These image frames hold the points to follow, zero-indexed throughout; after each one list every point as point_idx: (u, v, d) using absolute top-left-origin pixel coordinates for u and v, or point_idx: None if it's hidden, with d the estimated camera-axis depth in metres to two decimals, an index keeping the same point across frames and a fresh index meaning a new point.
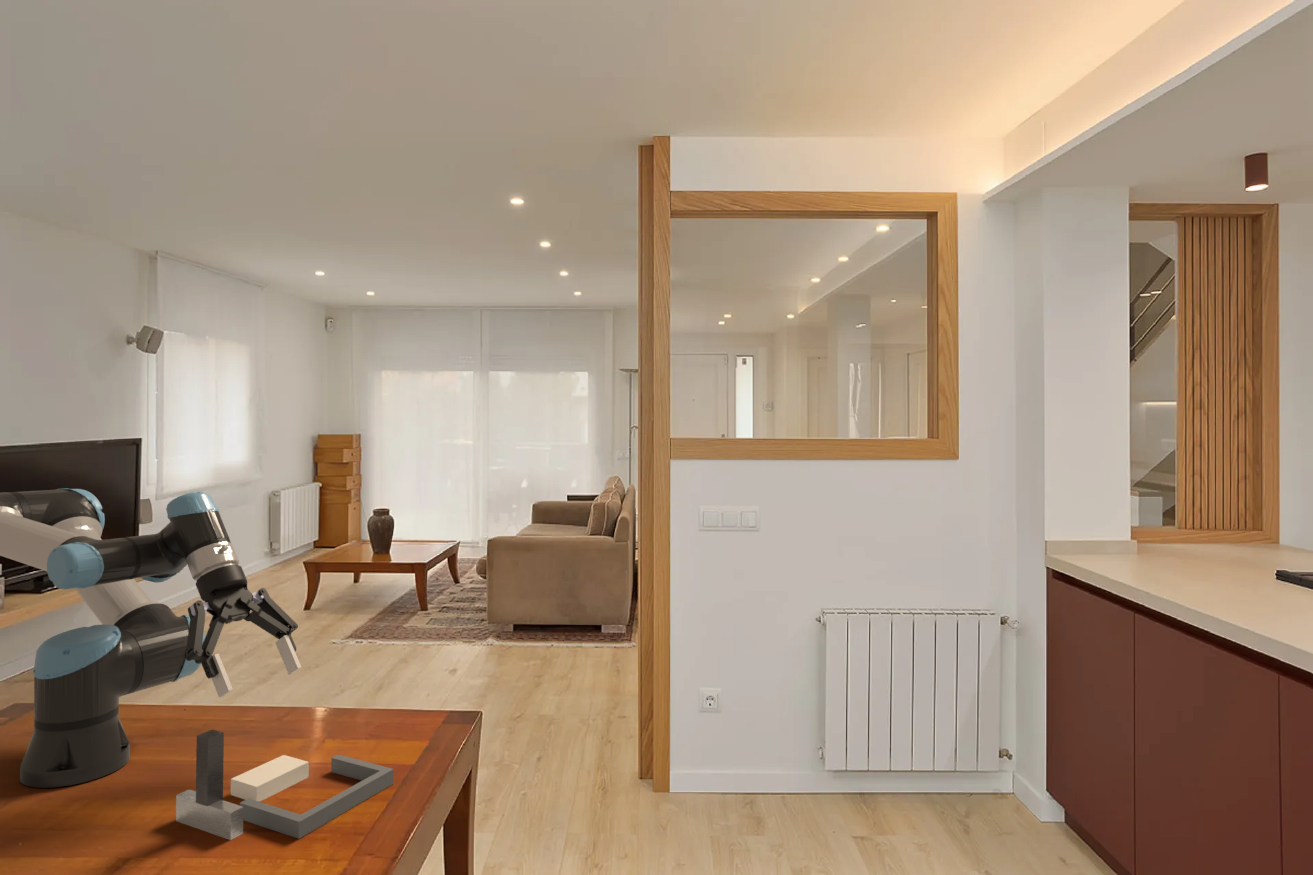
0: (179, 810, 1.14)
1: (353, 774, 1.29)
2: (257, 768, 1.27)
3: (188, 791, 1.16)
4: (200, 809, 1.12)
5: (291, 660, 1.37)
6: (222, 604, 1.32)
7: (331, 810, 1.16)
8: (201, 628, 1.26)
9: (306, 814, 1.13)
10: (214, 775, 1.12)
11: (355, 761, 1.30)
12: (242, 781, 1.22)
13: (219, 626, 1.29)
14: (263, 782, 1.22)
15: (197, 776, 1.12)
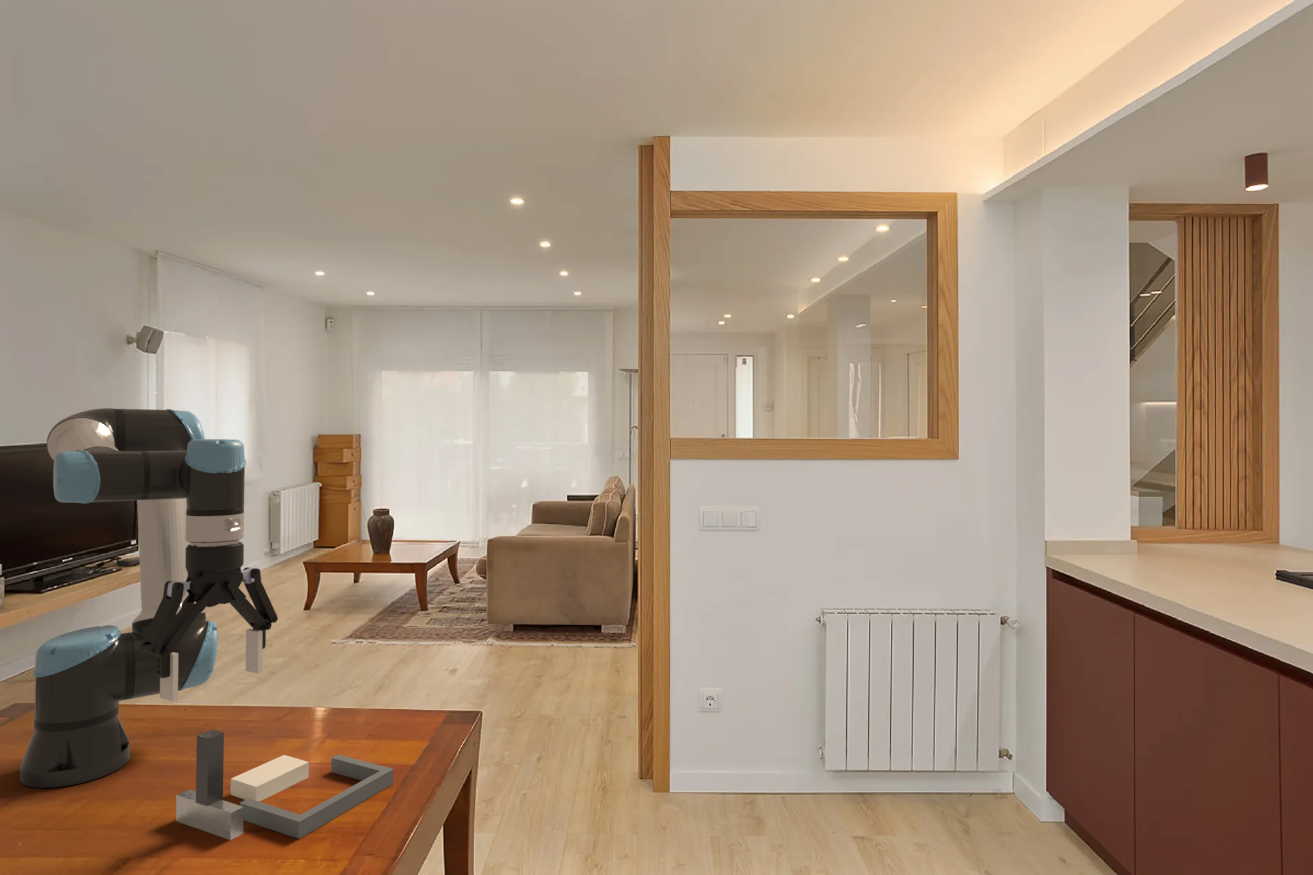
0: (179, 810, 1.14)
1: (353, 774, 1.29)
2: (257, 768, 1.27)
3: (188, 791, 1.16)
4: (200, 809, 1.12)
5: (254, 660, 1.19)
6: (205, 588, 1.11)
7: (331, 810, 1.16)
8: (170, 619, 1.06)
9: (306, 814, 1.13)
10: (214, 775, 1.12)
11: (355, 761, 1.30)
12: (242, 781, 1.22)
13: (192, 617, 1.09)
14: (262, 783, 1.22)
15: (197, 776, 1.12)
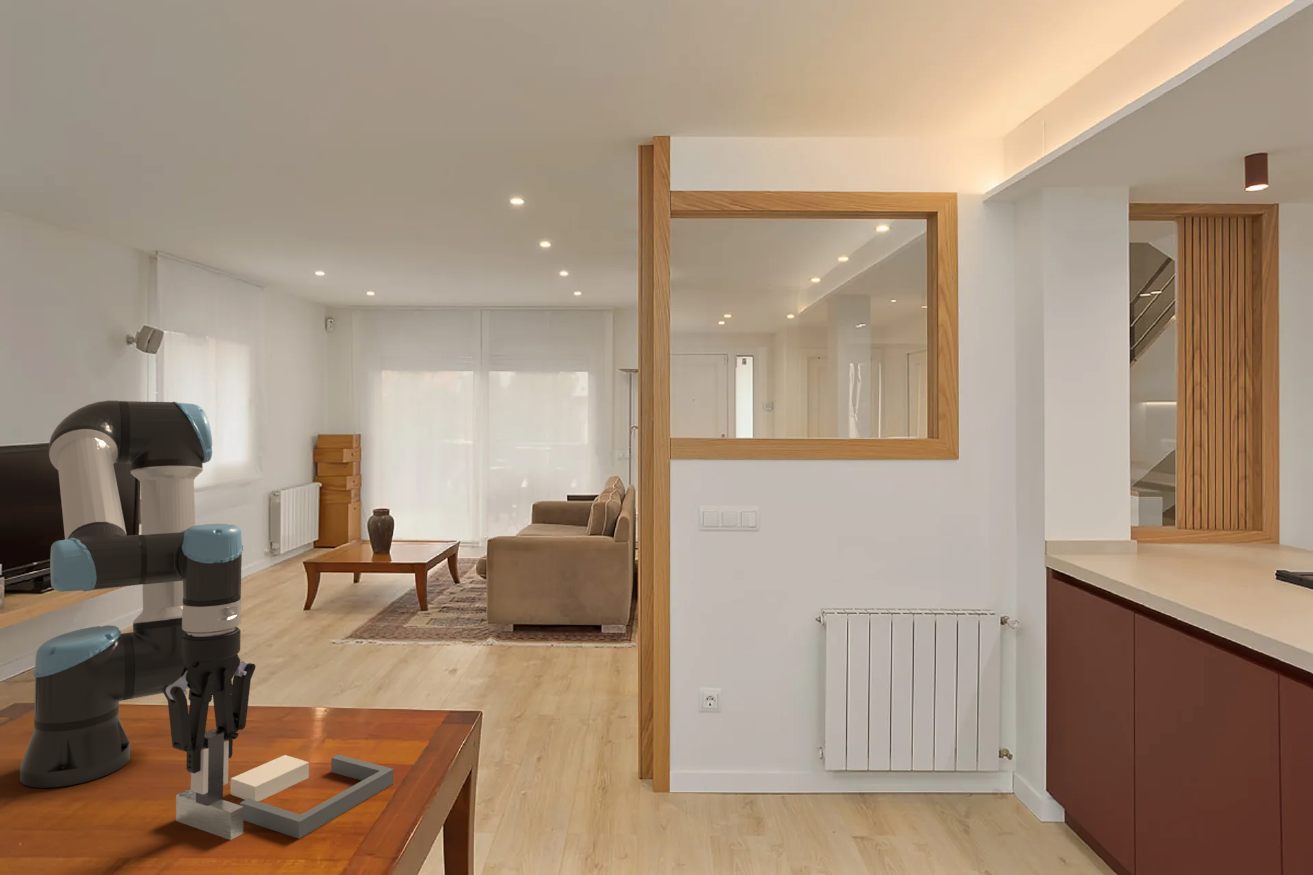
0: (179, 810, 1.14)
1: (353, 774, 1.29)
2: (257, 768, 1.27)
3: (188, 791, 1.16)
4: (200, 808, 1.12)
5: None
6: (202, 681, 1.10)
7: (331, 810, 1.16)
8: (186, 718, 1.08)
9: (306, 814, 1.13)
10: (214, 775, 1.12)
11: (355, 761, 1.30)
12: (242, 781, 1.22)
13: (204, 709, 1.11)
14: (261, 783, 1.22)
15: None
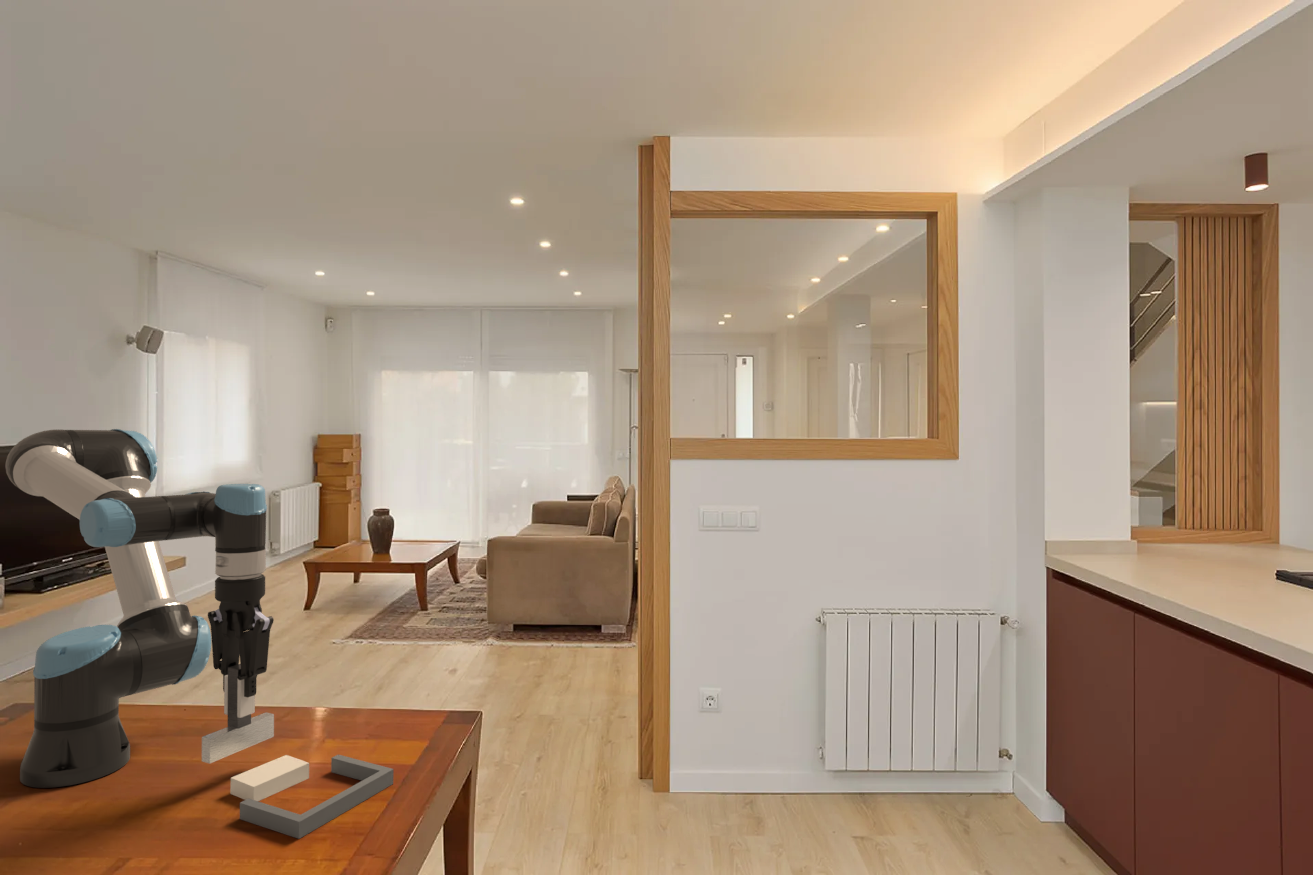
0: None
1: (353, 774, 1.29)
2: (258, 768, 1.27)
3: (269, 714, 1.34)
4: None
5: None
6: None
7: (331, 810, 1.16)
8: (215, 641, 1.30)
9: (306, 814, 1.13)
10: (232, 703, 1.28)
11: (355, 761, 1.30)
12: (241, 781, 1.22)
13: (226, 641, 1.29)
14: (260, 783, 1.22)
15: None
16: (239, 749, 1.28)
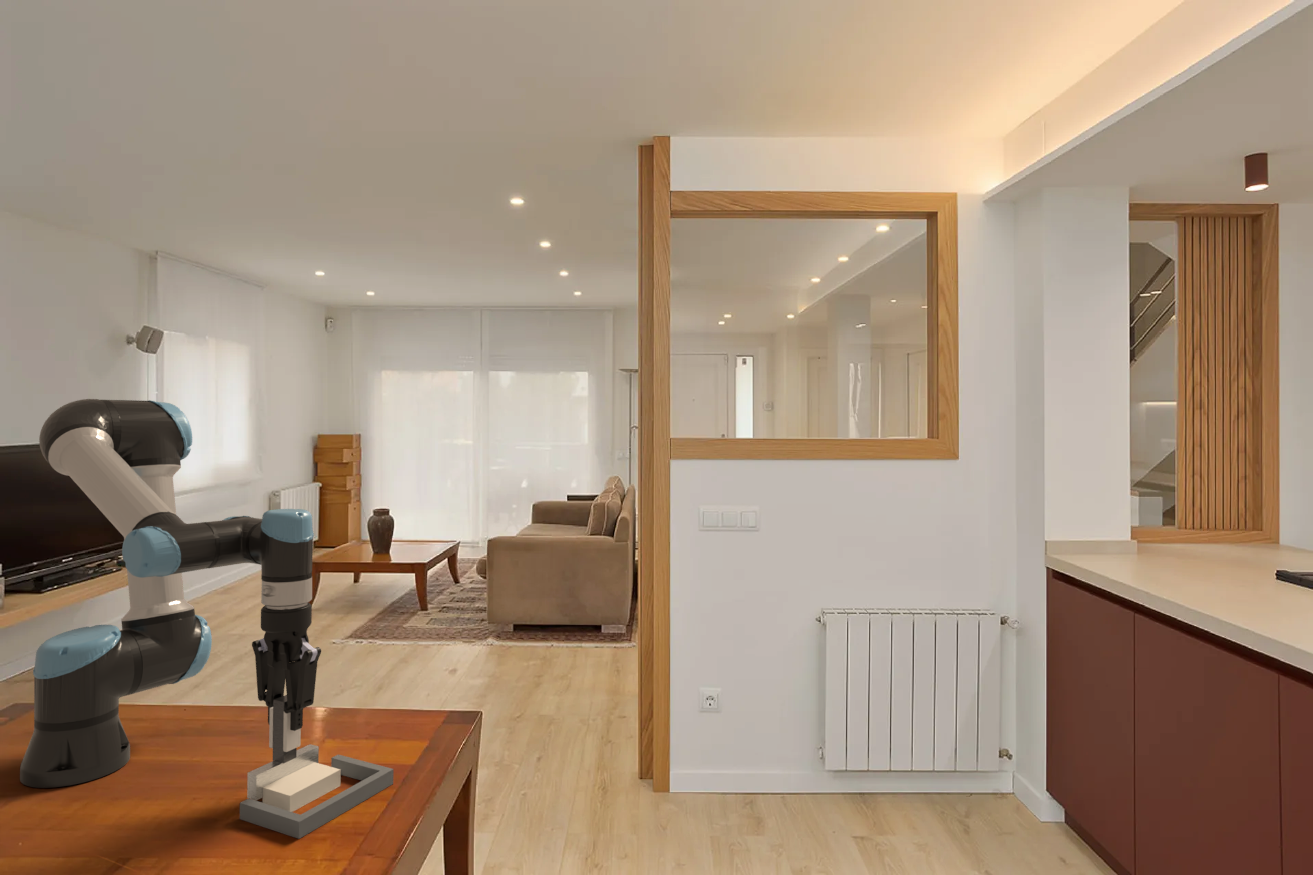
0: None
1: (353, 774, 1.29)
2: (288, 776, 1.24)
3: (313, 747, 1.30)
4: None
5: None
6: None
7: (331, 810, 1.16)
8: (259, 672, 1.25)
9: (306, 814, 1.13)
10: (277, 736, 1.24)
11: (355, 761, 1.30)
12: (275, 790, 1.19)
13: (271, 672, 1.24)
14: (296, 791, 1.19)
15: None
16: None
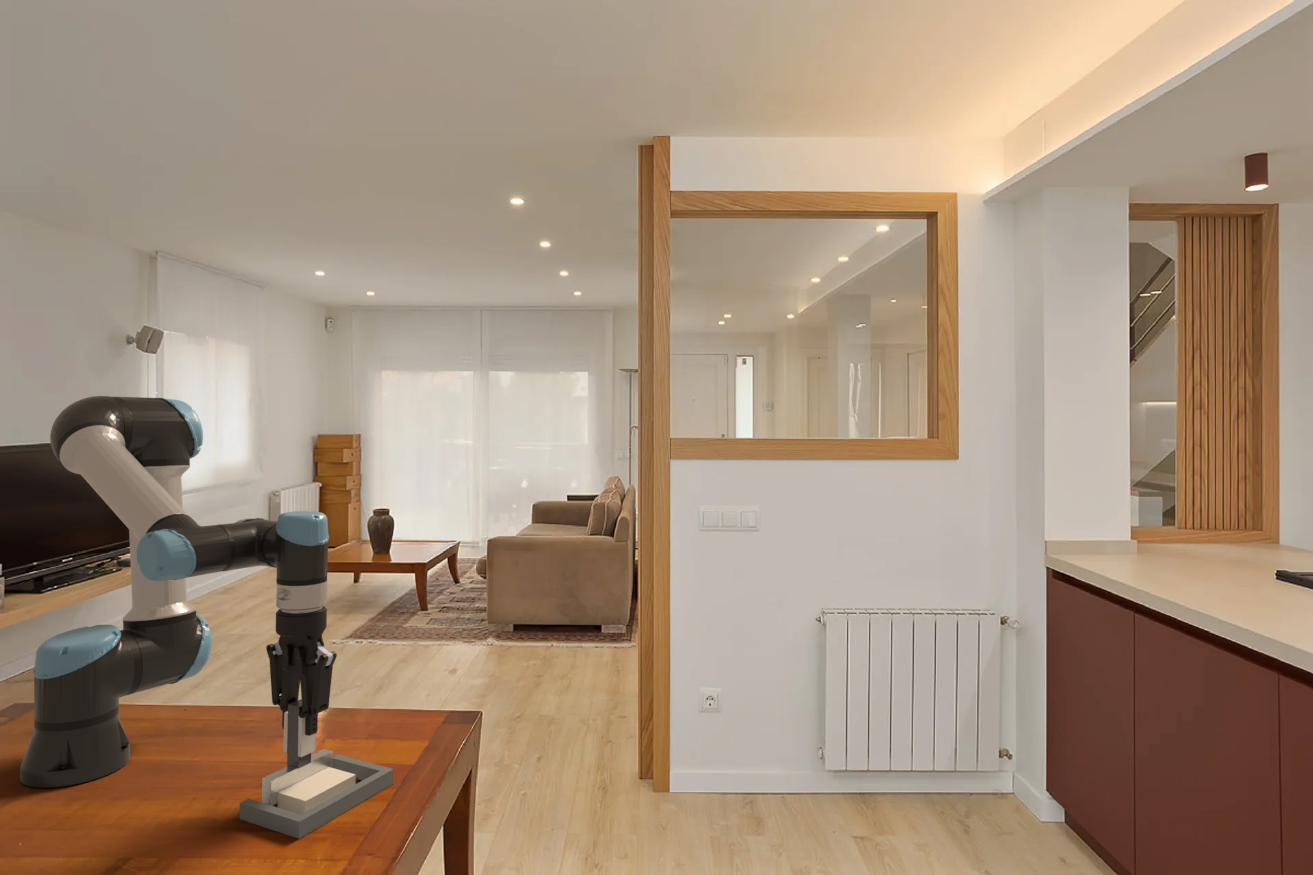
0: None
1: None
2: (303, 781, 1.23)
3: (327, 751, 1.28)
4: None
5: None
6: None
7: (331, 810, 1.16)
8: (274, 676, 1.24)
9: (306, 814, 1.13)
10: (292, 741, 1.22)
11: (355, 761, 1.30)
12: (290, 795, 1.18)
13: (286, 676, 1.23)
14: (311, 796, 1.18)
15: None
16: None
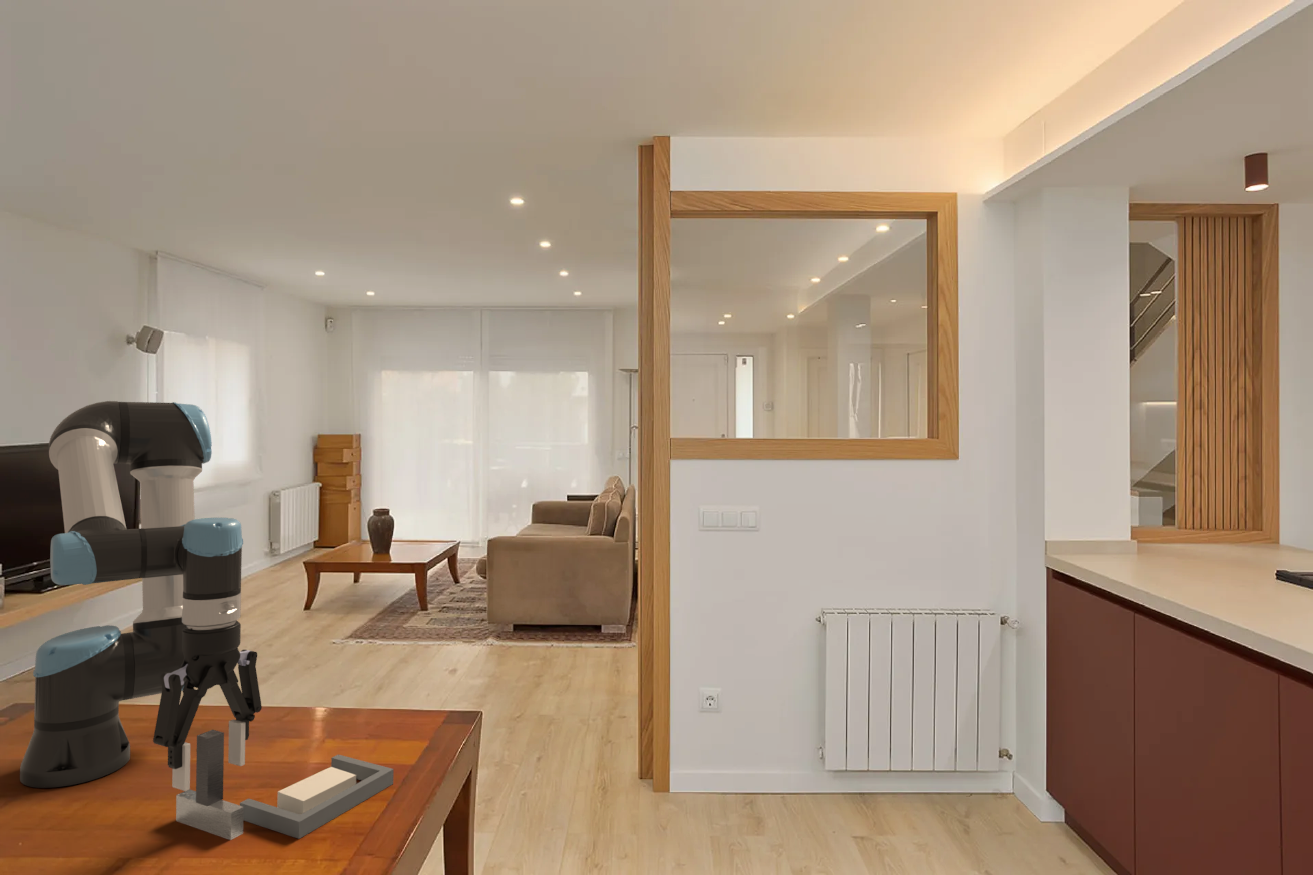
0: (179, 810, 1.14)
1: None
2: (304, 780, 1.23)
3: (188, 791, 1.16)
4: (200, 809, 1.12)
5: (237, 752, 1.16)
6: (201, 673, 1.10)
7: (331, 810, 1.16)
8: (175, 711, 1.07)
9: (306, 814, 1.13)
10: (214, 775, 1.12)
11: (355, 761, 1.30)
12: (289, 795, 1.18)
13: (196, 704, 1.09)
14: (309, 797, 1.18)
15: (197, 776, 1.12)
16: None
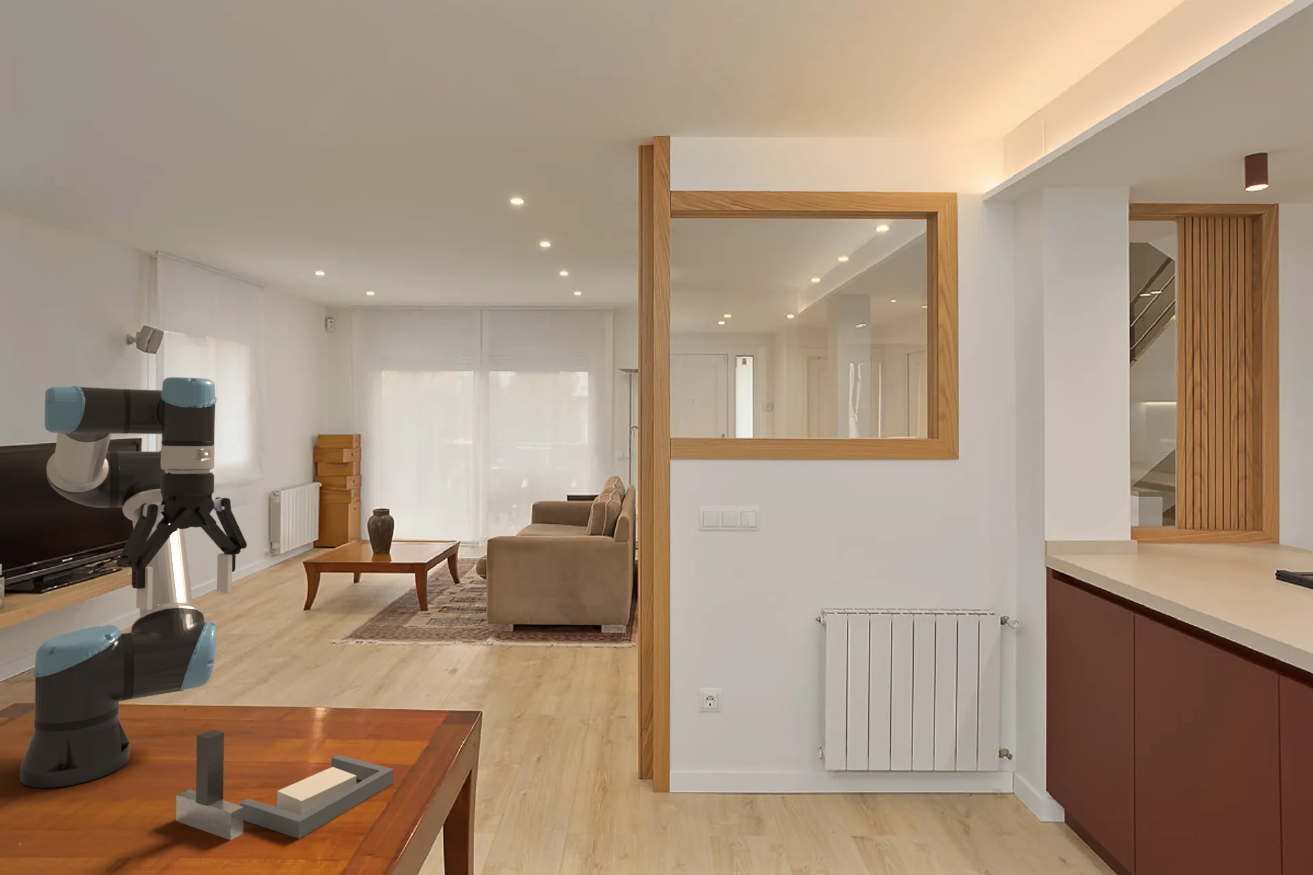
0: (179, 810, 1.14)
1: None
2: (304, 780, 1.23)
3: (188, 791, 1.16)
4: (200, 809, 1.12)
5: (224, 581, 1.31)
6: (178, 511, 1.23)
7: (331, 810, 1.16)
8: (145, 537, 1.18)
9: (306, 814, 1.13)
10: (214, 775, 1.12)
11: (355, 761, 1.30)
12: (288, 794, 1.18)
13: (165, 536, 1.21)
14: (308, 797, 1.18)
15: (197, 776, 1.12)
16: None
